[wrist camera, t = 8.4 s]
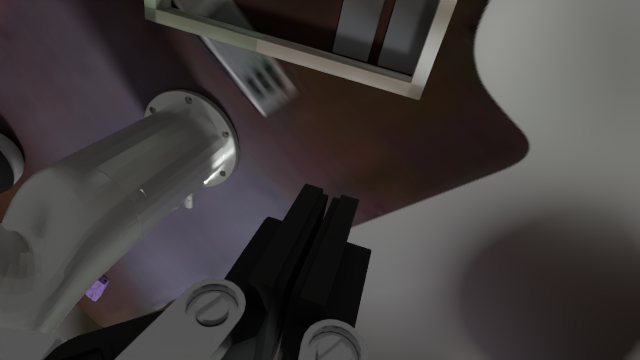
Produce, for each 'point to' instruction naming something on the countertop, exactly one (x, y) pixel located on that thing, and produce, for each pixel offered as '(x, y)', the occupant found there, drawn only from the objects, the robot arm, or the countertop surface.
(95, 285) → the sponges
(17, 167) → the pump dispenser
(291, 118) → the countertop surface
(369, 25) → the rectangular open frame tray
